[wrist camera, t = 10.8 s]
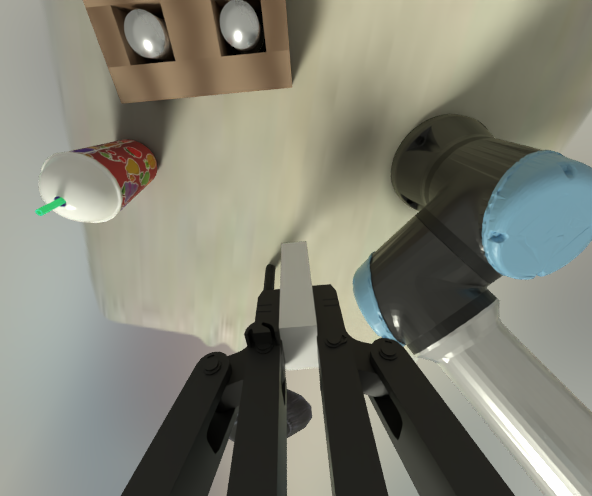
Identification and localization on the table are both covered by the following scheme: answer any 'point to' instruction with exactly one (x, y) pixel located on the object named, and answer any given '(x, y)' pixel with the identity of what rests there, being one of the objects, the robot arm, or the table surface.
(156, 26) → the peg
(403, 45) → the table surface
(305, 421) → the solar garden light
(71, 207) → the smoothie
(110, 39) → the block
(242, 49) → the peg
